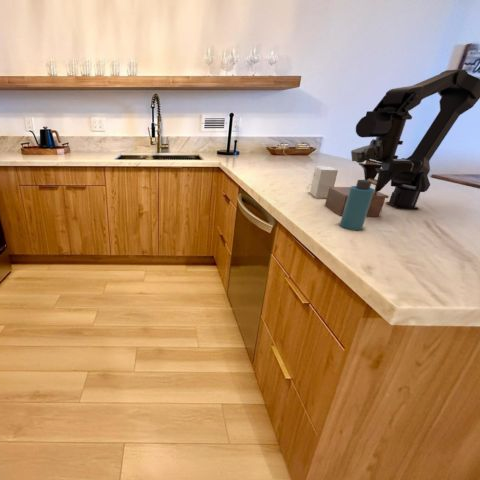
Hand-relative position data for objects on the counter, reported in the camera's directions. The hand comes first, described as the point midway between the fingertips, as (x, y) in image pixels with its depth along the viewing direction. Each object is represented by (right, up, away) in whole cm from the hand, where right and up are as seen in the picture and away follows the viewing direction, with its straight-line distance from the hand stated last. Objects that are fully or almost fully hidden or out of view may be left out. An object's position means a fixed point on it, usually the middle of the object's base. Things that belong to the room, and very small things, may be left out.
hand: (372, 188), depth 90 cm
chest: (-5, -7, +3) cm, 9 cm away
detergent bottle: (-13, -12, -9) cm, 20 cm away
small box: (-6, +1, +20) cm, 21 cm away
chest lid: (-4, -1, +1) cm, 4 cm away
